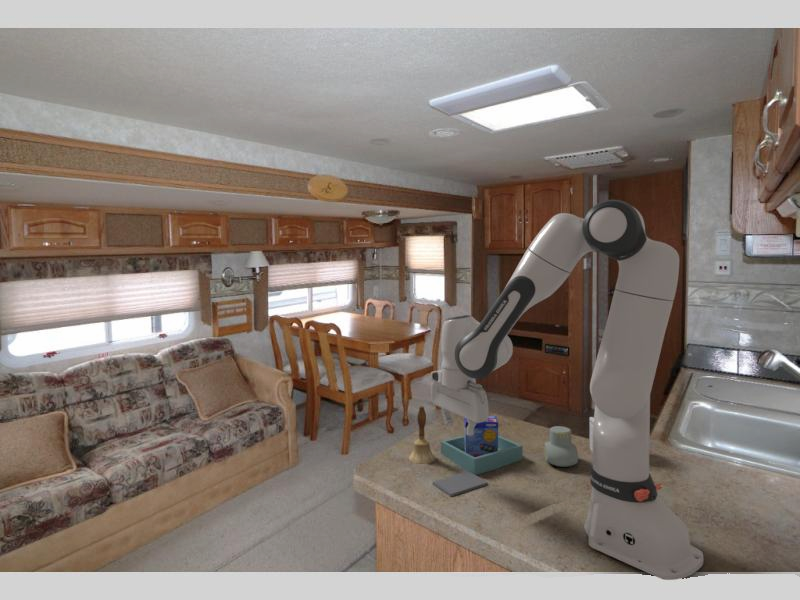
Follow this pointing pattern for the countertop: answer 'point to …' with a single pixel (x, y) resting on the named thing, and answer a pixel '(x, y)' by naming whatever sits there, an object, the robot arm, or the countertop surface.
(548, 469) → the countertop surface
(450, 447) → the bin
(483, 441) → the ink cartridge box
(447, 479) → the mat
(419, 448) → the hand bell
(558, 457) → the air freshener
